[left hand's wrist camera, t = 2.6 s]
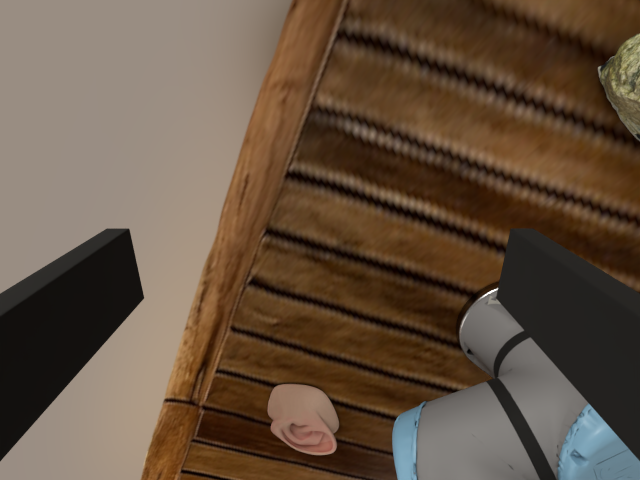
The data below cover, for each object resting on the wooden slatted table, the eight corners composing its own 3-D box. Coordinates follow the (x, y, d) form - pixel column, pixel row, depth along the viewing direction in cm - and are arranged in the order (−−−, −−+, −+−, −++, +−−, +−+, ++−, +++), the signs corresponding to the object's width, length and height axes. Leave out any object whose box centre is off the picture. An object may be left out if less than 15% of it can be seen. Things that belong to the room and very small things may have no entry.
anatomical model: (255, 406, 54) (329, 396, 54) (259, 387, 58) (328, 377, 57) (275, 465, 59) (343, 456, 58) (278, 443, 63) (341, 434, 62)
